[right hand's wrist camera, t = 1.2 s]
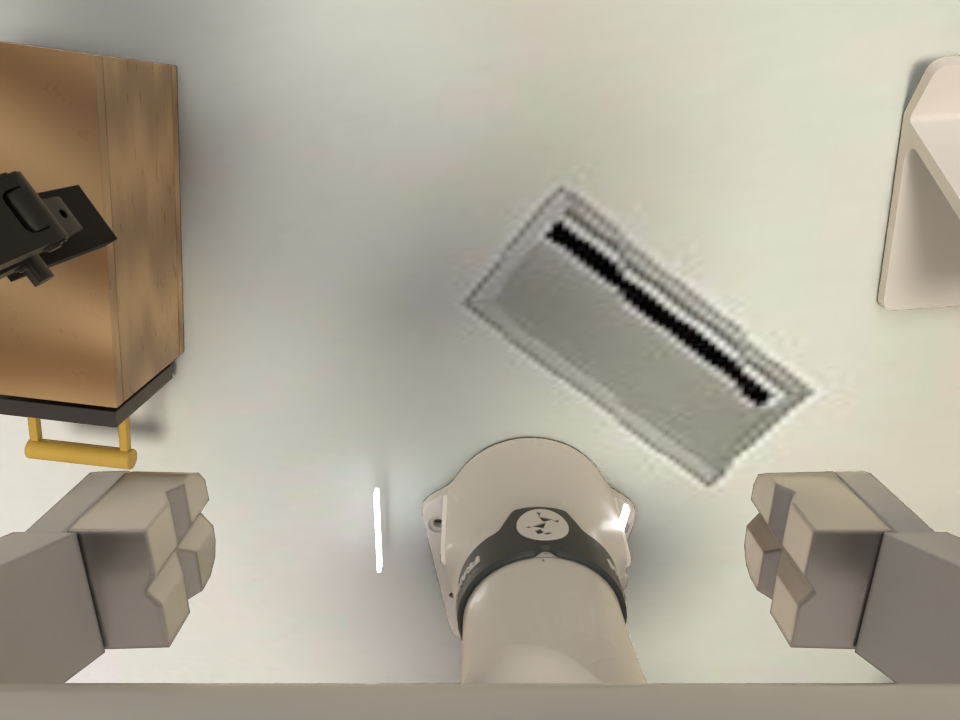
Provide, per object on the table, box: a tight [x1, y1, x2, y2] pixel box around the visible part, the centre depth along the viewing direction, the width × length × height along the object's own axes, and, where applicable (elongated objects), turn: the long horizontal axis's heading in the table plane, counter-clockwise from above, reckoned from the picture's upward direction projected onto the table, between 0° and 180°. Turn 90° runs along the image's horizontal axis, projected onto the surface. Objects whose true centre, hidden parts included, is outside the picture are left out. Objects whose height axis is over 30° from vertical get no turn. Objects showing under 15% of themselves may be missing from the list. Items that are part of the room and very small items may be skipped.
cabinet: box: [0, 41, 184, 408], centre depth 46 cm, size 22×11×11 cm, turn 172°
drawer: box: [0, 364, 172, 469], centre depth 47 cm, size 26×10×9 cm, turn 172°
